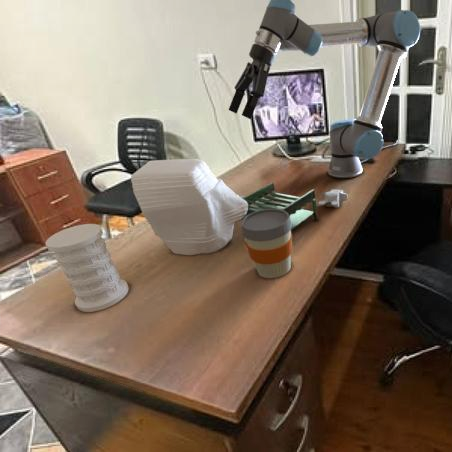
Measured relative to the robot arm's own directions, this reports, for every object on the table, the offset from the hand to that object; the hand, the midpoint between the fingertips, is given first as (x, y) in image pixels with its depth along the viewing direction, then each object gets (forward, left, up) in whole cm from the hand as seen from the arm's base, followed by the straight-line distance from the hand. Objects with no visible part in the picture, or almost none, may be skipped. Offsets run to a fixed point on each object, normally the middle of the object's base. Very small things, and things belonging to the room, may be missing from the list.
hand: (238, 114), depth 111 cm
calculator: (+1, -4, -35) cm, 35 cm away
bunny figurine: (-16, +23, -35) cm, 45 cm away
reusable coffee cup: (+25, +29, -35) cm, 52 cm away
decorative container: (+54, -3, -35) cm, 64 cm away
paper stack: (+26, +1, -35) cm, 43 cm away
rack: (+4, +15, -34) cm, 38 cm away
